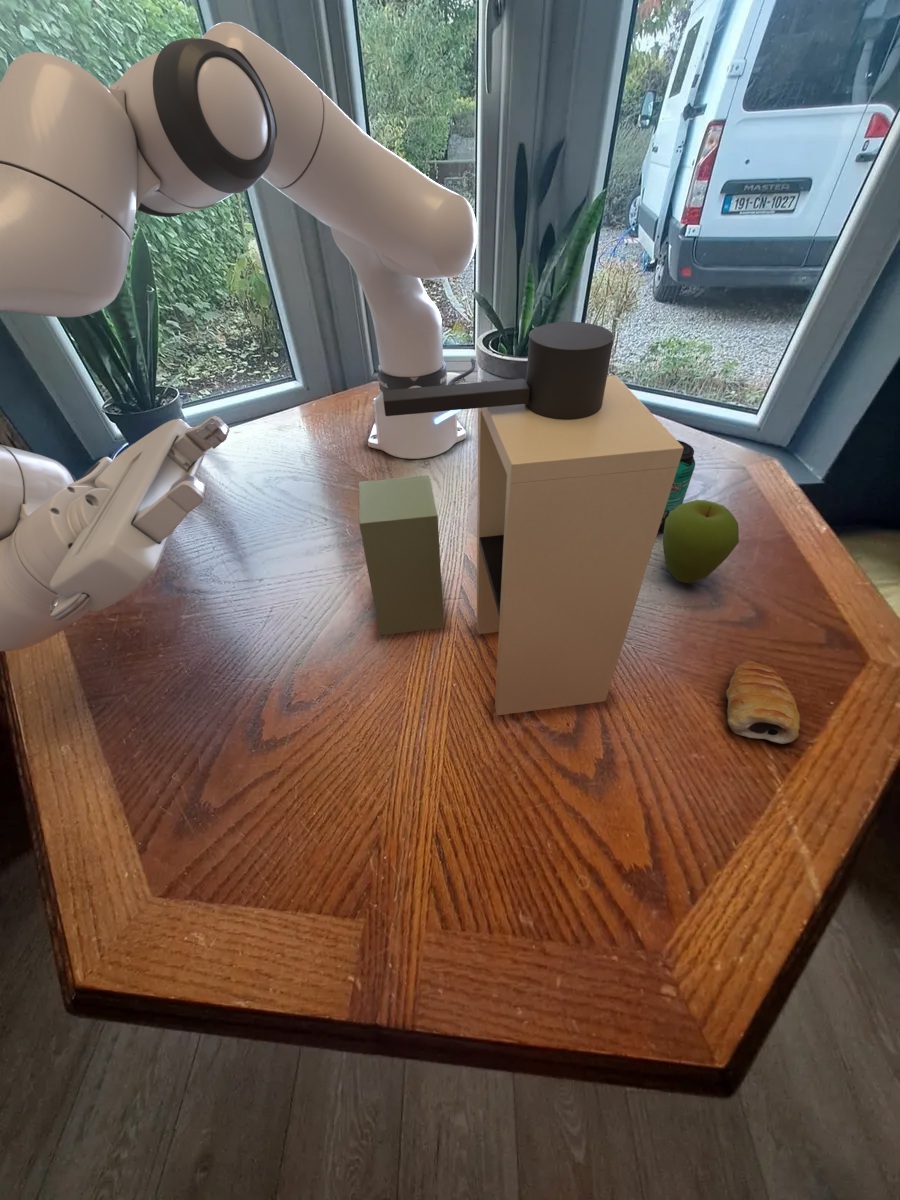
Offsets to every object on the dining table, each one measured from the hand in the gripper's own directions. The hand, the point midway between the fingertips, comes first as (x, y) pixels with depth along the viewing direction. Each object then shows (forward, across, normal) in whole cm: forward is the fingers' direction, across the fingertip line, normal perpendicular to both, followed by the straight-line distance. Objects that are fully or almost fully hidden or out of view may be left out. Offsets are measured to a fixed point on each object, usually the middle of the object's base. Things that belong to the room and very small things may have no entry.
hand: (210, 453), depth 40 cm
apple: (+30, +9, +50) cm, 59 cm away
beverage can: (+30, +22, +51) cm, 63 cm away
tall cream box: (+10, -2, +38) cm, 40 cm away
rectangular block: (-2, +9, +32) cm, 33 cm away
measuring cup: (+20, 0, +10) cm, 22 cm away
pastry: (+28, -12, +49) cm, 58 cm away
